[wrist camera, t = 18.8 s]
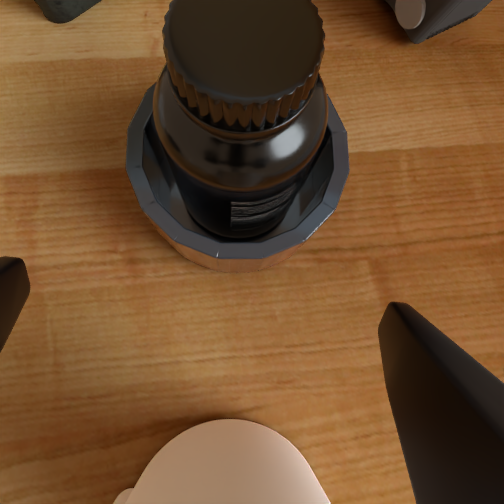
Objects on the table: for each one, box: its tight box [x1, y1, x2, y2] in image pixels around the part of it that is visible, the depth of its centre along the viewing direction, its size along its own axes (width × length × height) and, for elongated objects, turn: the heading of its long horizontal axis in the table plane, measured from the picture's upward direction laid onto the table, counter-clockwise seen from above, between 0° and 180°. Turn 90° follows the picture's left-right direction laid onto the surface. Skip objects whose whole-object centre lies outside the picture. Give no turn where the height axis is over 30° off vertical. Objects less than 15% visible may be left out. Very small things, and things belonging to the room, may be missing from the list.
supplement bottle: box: [153, 0, 328, 238], centre depth 17 cm, size 7×7×12 cm
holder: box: [126, 82, 349, 273], centre depth 21 cm, size 11×11×5 cm
